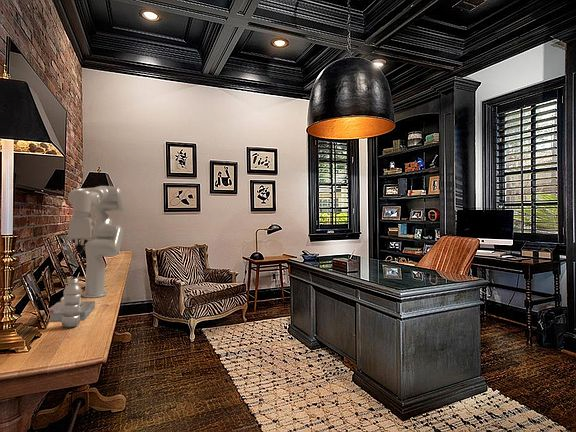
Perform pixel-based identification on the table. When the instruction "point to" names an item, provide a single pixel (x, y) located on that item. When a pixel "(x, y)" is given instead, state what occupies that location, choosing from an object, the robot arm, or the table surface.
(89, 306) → the socket
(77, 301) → the plastic bottle
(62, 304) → the plug
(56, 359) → the table surface
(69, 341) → the table surface
